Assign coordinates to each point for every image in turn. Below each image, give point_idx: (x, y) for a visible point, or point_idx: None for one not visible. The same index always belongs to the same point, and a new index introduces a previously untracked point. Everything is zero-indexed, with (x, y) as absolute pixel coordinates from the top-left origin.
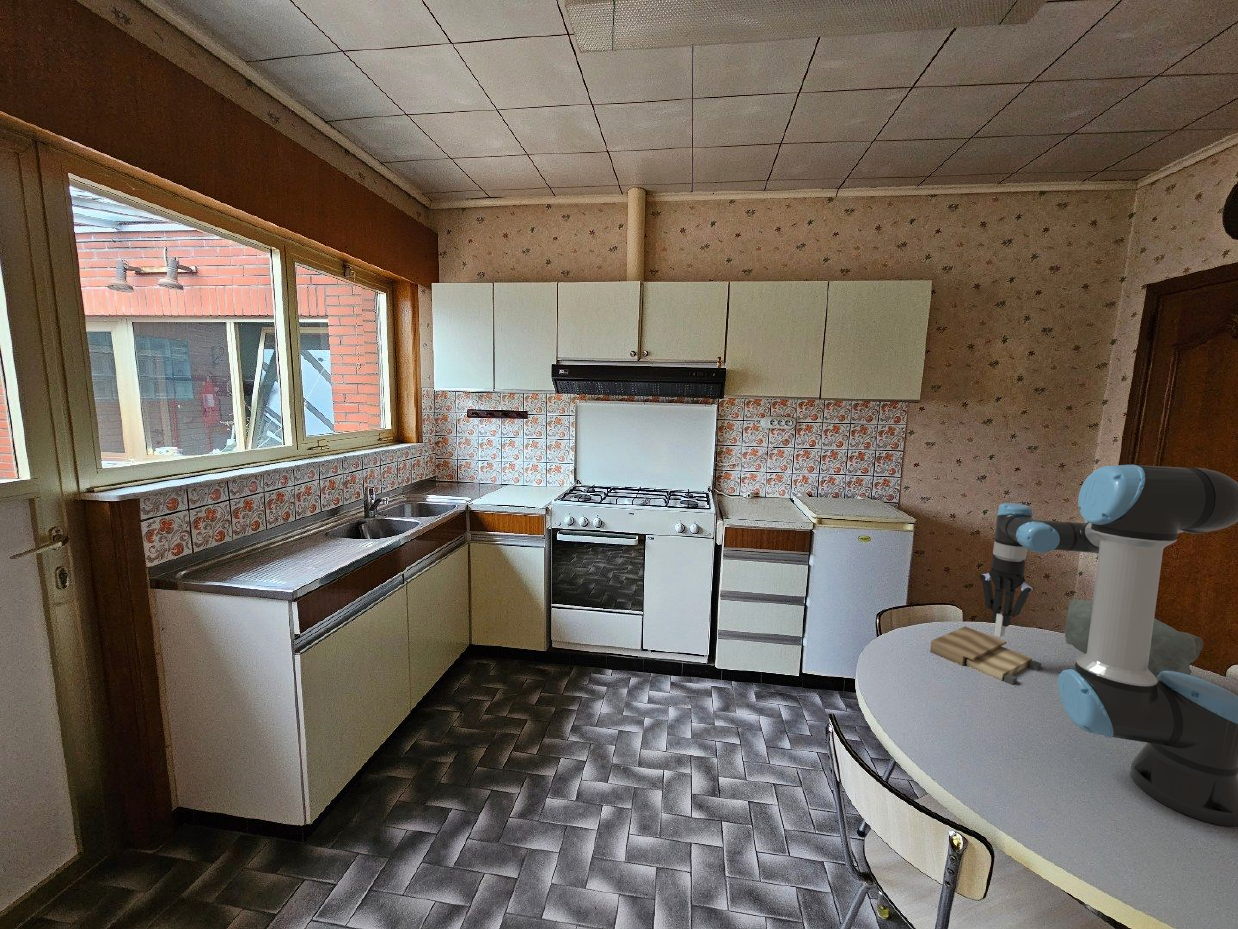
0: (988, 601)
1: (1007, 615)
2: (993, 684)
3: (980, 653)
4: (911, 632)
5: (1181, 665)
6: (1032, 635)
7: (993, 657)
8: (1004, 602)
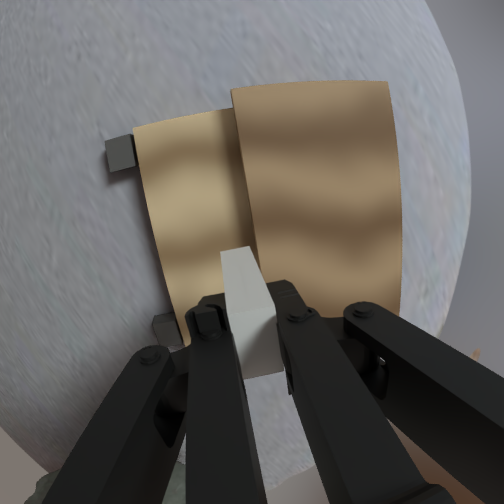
0: (392, 338)
1: (190, 332)
2: (135, 81)
3: (245, 156)
4: (456, 172)
5: (41, 488)
6: (295, 453)
7: (232, 223)
8: (243, 416)
